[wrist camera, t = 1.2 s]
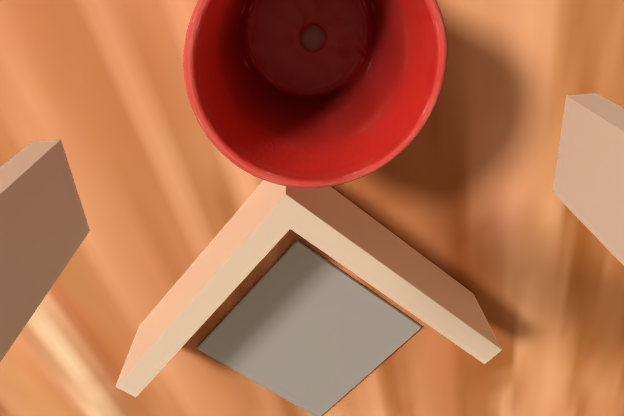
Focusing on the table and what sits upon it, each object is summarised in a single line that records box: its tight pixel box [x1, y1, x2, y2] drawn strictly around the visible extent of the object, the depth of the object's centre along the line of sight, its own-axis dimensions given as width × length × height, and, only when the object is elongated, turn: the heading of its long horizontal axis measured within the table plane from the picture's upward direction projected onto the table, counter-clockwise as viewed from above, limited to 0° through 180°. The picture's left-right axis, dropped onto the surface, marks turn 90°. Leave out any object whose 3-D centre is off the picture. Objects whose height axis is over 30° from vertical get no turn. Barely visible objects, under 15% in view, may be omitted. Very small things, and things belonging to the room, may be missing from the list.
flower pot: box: [183, 0, 447, 188], centre depth 26 cm, size 11×11×10 cm
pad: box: [197, 240, 421, 416], centre depth 40 cm, size 12×12×1 cm
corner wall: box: [116, 180, 502, 397], centre depth 37 cm, size 18×18×6 cm
